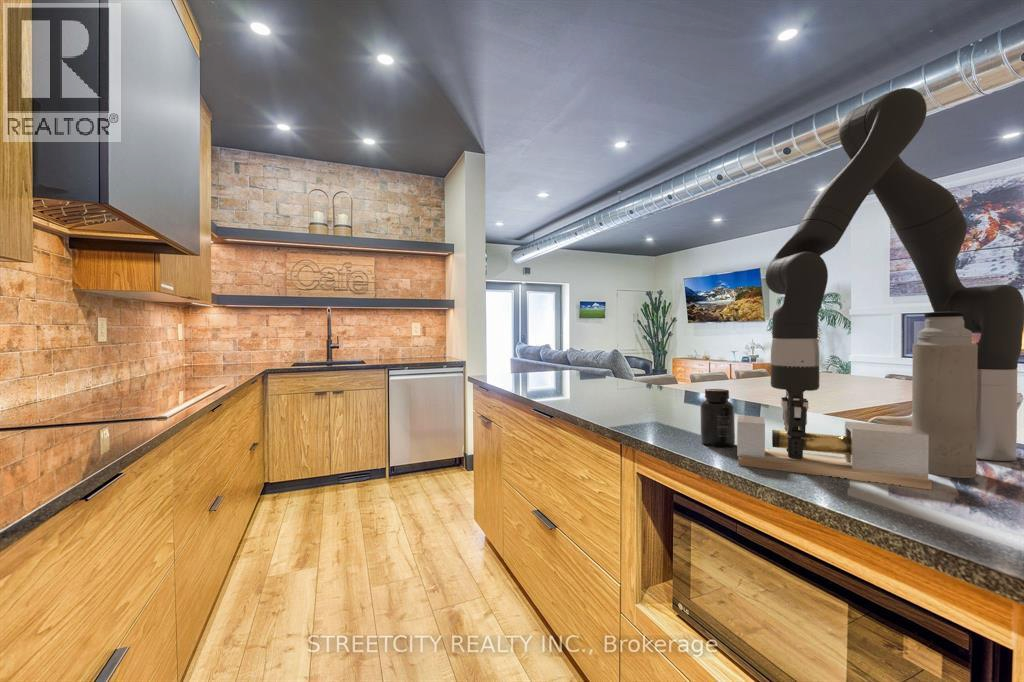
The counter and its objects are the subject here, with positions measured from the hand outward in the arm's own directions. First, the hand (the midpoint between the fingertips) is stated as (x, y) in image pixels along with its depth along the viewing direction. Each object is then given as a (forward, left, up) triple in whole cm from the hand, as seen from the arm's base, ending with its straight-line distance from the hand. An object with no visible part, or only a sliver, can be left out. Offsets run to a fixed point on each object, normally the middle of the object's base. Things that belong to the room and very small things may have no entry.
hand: (794, 455), depth 79 cm
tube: (0, +5, +1) cm, 5 cm away
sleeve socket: (0, +4, -1) cm, 4 cm away
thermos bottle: (-8, +22, -2) cm, 24 cm away
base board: (0, +4, -2) cm, 5 cm away
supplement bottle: (-10, -14, -2) cm, 17 cm away
